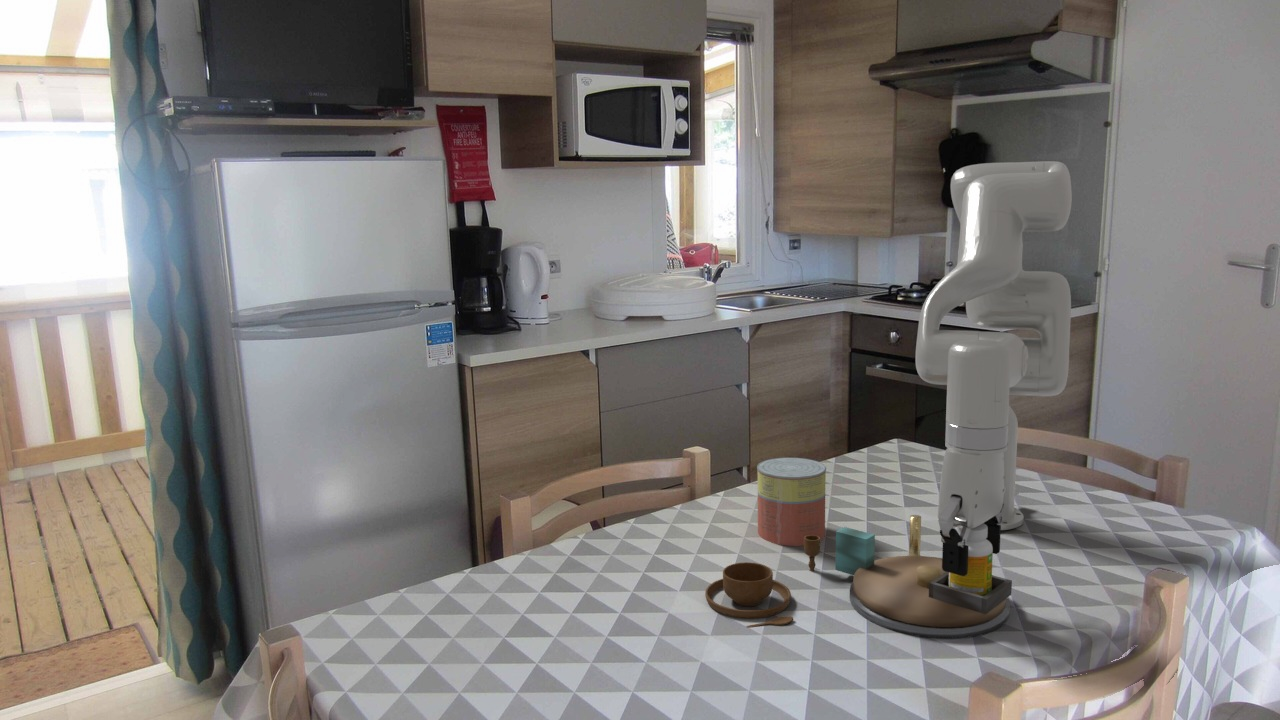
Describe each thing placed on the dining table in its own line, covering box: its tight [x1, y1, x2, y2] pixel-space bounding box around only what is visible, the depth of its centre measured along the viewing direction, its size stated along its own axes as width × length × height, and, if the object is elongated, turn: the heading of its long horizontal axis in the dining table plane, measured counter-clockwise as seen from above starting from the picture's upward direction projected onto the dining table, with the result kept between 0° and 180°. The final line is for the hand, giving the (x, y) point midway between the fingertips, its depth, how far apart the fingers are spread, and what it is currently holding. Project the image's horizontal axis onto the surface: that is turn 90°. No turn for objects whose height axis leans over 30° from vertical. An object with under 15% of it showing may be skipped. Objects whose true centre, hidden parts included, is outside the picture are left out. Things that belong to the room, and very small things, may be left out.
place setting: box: [705, 535, 821, 629], centre depth 129 cm, size 18×20×6 cm
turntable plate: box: [835, 526, 1013, 627], centre depth 127 cm, size 24×20×6 cm
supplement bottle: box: [949, 520, 994, 597], centre depth 121 cm, size 5×5×10 cm
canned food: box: [756, 456, 827, 547], centre depth 151 cm, size 11×11×12 cm
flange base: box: [849, 514, 1010, 639], centre depth 125 cm, size 21×21×8 cm
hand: (971, 561), depth 120 cm, fingers open, 9 cm apart
